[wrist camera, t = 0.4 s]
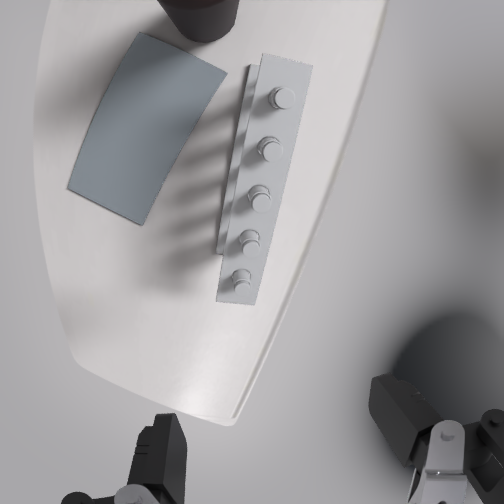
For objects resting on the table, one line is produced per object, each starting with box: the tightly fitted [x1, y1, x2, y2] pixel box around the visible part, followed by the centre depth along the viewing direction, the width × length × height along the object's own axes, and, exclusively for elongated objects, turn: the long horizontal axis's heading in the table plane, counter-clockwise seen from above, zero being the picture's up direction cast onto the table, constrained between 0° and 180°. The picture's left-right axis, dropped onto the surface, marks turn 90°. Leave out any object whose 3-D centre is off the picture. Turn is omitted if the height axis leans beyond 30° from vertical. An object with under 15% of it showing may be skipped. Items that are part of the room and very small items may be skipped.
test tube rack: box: [216, 54, 313, 305], centre depth 30 cm, size 25×4×13 cm, turn 169°
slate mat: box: [68, 32, 228, 226], centre depth 32 cm, size 22×12×1 cm, turn 148°
